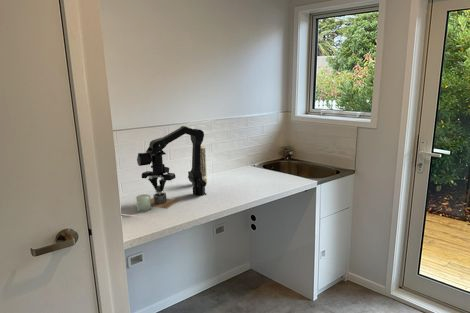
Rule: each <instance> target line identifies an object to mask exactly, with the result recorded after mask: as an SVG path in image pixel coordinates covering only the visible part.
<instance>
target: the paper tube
mask: <svg viewBox="0 0 470 313" xmlns="http://www.w3.org/2000/svg"><path fill="white" fill-rule="evenodd" d="M206 161H207V159H206V146H205V145H201V154H200V171H201V173H202V180H204V181H205V182H206V185H207V183H208V180H207V179H208V178H207V176H208V175H207V162H206Z"/></svg>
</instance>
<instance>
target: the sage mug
mask: <svg viewBox="0 0 470 313" xmlns="http://www.w3.org/2000/svg"><path fill="white" fill-rule="evenodd" d="M135 199H136V201H135V202H136V211H138V212H139V213H143V212H144V213H145V212H149V211H151V210H152V207H151V202H150V199H151V195H150V194H146V193H145V194H139V195H137V196H136V197H135Z"/></svg>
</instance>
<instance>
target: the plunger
mask: <svg viewBox="0 0 470 313" xmlns="http://www.w3.org/2000/svg"><path fill="white" fill-rule="evenodd" d="M157 185H158V186H156V190H155V191H154V192H155V194H156V193H159V196H161V193H165V192H164V190H163V191H161V188H160V184H157Z"/></svg>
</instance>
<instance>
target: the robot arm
mask: <svg viewBox="0 0 470 313" xmlns="http://www.w3.org/2000/svg"><path fill="white" fill-rule="evenodd" d="M184 135H188V136H190V140H191V143H192V149H191V150H192V156H191V159H192V160H191V170H190V171H187V179H188V181H189V182H190V183H191V184H192V195H194V196H196V197H197V196H198V197H199V196H200V197H201V196H207V193H206V186H207V184H206V182H205V181H204V180H202V173H201V171H200V154H201V146H202V143H203V141H204V137H205V132H204V130H202V129H198V128H191V127H188V126H185V125H182V126H180V127H179V128H177V129H175V130H174V131H171V132H169V134H166V135H164V136H163V137H159V138H155V139H152V140H151V141H150V142H149V146H148V148H147V150H146V151H145V152H139V153H137V158H136V162H137V165H138V166H139V167H142V166H149V165H150V168H151V169H152V170H151V171H150V170H146V171H144V172H142V173H141V179H147V178H148V179H147V180H148V181H149V182H150V184H151V185H152V187H153V188H154V190H155V191H156V186H158V185H160V188H161V191H164V188H165V185H166V182H167V181H168V182H169V181H172V180H175V179H176V173H174V172H170V167H168V166H165V164H164V163H163V156H165V155H167V153H166V152H164V150H163V149H165V148H166V147H167V146H168V144H170V143H172V142H174V141H175V140H177V139H178V138H180V137H182V136H184ZM159 178H160V179H159ZM158 182H159V184H158Z"/></svg>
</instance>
